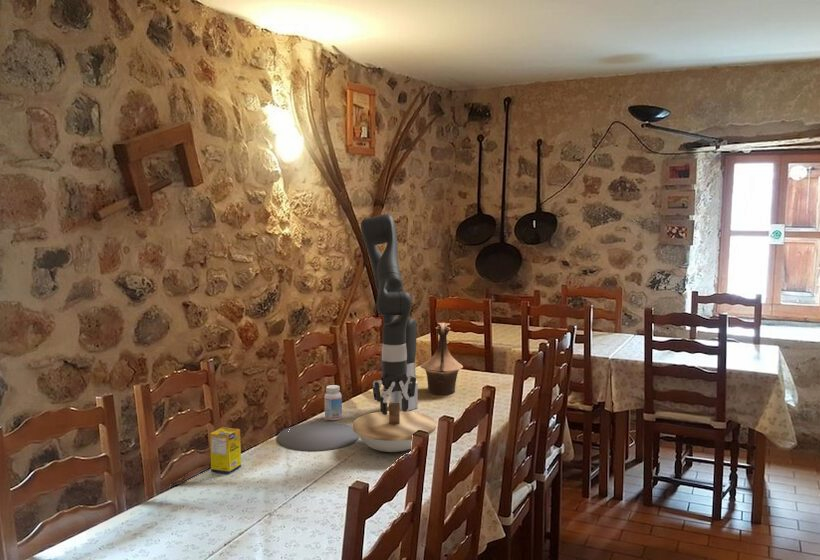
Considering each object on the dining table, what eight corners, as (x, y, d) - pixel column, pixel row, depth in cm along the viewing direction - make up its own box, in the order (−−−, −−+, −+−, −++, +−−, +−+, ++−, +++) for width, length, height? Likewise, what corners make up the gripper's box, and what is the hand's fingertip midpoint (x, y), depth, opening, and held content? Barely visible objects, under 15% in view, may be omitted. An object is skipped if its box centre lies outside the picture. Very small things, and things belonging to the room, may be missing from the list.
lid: (412, 410, 216) (412, 388, 216) (451, 432, 194) (451, 408, 194) (340, 421, 205) (340, 398, 204) (373, 446, 183) (373, 420, 182)
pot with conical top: (464, 397, 255) (464, 326, 253) (420, 397, 256) (420, 326, 253) (461, 386, 273) (461, 319, 270) (420, 385, 273) (420, 319, 270)
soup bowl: (444, 441, 206) (444, 420, 205) (411, 467, 184) (411, 445, 184) (376, 430, 216) (376, 411, 215) (337, 454, 194) (337, 432, 194)
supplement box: (241, 466, 185) (240, 428, 184) (229, 474, 179) (228, 435, 178) (223, 464, 187) (222, 426, 186) (210, 471, 181) (209, 433, 180)
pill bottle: (343, 415, 232) (343, 384, 231) (340, 421, 226) (339, 389, 225) (326, 415, 233) (326, 384, 232) (322, 420, 227) (322, 388, 226)
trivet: (341, 419, 228) (341, 418, 228) (372, 442, 205) (372, 440, 205) (267, 431, 216) (267, 429, 216) (291, 456, 193) (291, 454, 193)
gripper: (409, 353, 204) (409, 406, 206) (367, 358, 198) (367, 412, 199) (421, 358, 198) (421, 412, 199) (377, 362, 191) (377, 419, 193)
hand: (394, 412), depth 199 cm, fingers open, 6 cm apart
